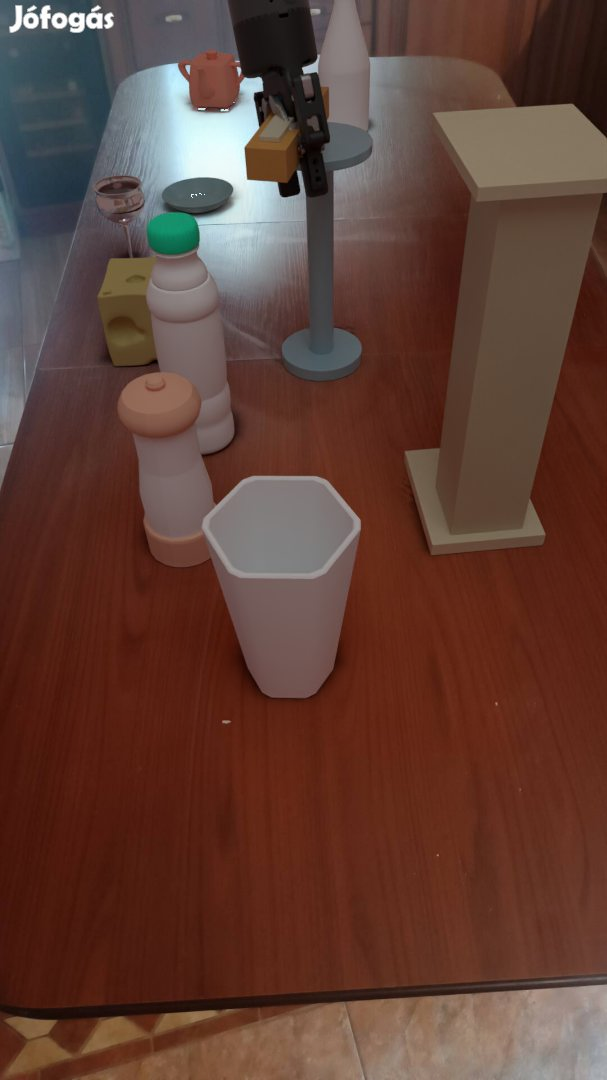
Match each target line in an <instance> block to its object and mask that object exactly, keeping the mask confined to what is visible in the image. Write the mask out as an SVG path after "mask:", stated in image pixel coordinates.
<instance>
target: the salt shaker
mask: <svg viewBox="0 0 607 1080" xmlns="http://www.w3.org/2000/svg"><path fill="white" fill-rule="evenodd" d="M201 403H202V400H201V398H200V395H199V393H198V391H197V389H196V387H195V386H194V385H193V384H192V383H191V382H189V381H188V380H187V379H186V378H185V377H183V376H180V375H178V374H175V373H169V372H160V371H157V372H151V373H146V374H144V375H141V376H138V377H136V378H134V379H133V380H131V381H129V383H127V385H126V386H125V387H124V388H123V390H122V391H121V393H120V395H119V397H118V401H117V409H116V410H117V415H118V419H119V420H120V421H121V423H122V424H123V425H124V427H125V428H126V429H127V430H128V431H129V432H130V433H132V437H133V441H134V446H135V449H136V455H137V460H138V483H139V484H138V485H139V486H138V487H139V488H138V489H139V496H140V500H141V504H142V507H143V511H144V514H143V520H142V523H143V527H144V530H145V535H146V540H147V543H148V548H149V552H150V554H151V555H152V556H153V557H154V559H155V560H156V561H158V562H159V563H161V564H163V565H165V566H168V567H173V568H189V567H194V566H198V565H200V564H203V563H204V562H206V561H208V560H210V559H211V556H210V553H209V550H208V547H207V544H206V541H205V538H204V535H203V532H202V529H201V527H202V522H203V518H204V517H205V516H206V515H207V514H208V513H209V512H210V511H211V510H212V509H214V508H215V507H216V506H217V505H218V504H217V503H216V502H215V501H214V495H213V493H214V492H213V485H212V481H211V478H210V476H209V475H210V474H209V473H208V470H207V467H206V465H205V462H204V459H203V456H202V455H201V453H200V448H199V442H198V436H197V430H196V424H195V421H196V420H197V418H198V416H199V413H200V409H201Z"/></svg>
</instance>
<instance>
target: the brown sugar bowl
mask: <svg viewBox="0 0 607 1080" xmlns="http://www.w3.org/2000/svg"><path fill="white" fill-rule="evenodd" d="M187 66H189V71H188V70H187V68H186V67H187ZM177 68H178V71H179V72H180V74H181V75H182V77H183V78H184V79H185V81H186V82H187V83H188V94H189V99H190V102H191V104H192V106H194V107H197V108H206V107H207V108H219V110H220V109H224V110H225V109H228V108H229V109H230V107H231V105H233V104H232V103H233V102H235V101H237V99H238V97H239V94H240V89H241V84H242V82H243V81H244V80H245V79H246V77H244V76H243V74H242V71H241V70H240V73H239V70H238V68H239V69H241V66H240V61H236V59H235V55H234V54H233V53H228V52H218V51H217V49H208V50H206V51H205V52H201V53H199V54H197V56H194V58H193V59H192V60H190V59H189V60H188V59H182V60H179V62H178V63H177Z"/></svg>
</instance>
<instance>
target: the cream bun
mask: <svg viewBox="0 0 607 1080" xmlns="http://www.w3.org/2000/svg"><path fill="white" fill-rule="evenodd" d="M321 91H322V97H323V102H324V107H325V113H326V118H327V120H328V118H329V87H321ZM288 118H289V120H290V121H287V122H284V121H283V120H282V119H281V117H279V116H278V115H274V114H273V111H272V112H271V114H270V115H269V116H268V117H267V119H266V120H265V121H264V123H263V124H262V125H261V126H260V128H259V127H258V129H257V130H256V132H254V134H253V136H251V138H250V139H249V141H248V142H247V143H246V144H245V146H244V147H243V149H244V159H245V161H244V162H245V171H246V172H245V173H246V180H247V181H258V182H268V183H269V182H271V183H277V182H282V183H288V181H289V179H290V178H291V176H292V175H293V173H294V172H295V170H296V168H297V167H298V165H299V164H300V161H299V158H301V157H303V156H299V154H298V151H297V147H298V136H299V132H300V130H299V129H294V130H289V127H290V123H291V122H294V117H288ZM307 120H308V118H307Z"/></svg>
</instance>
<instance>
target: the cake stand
mask: <svg viewBox="0 0 607 1080" xmlns="http://www.w3.org/2000/svg"><path fill="white" fill-rule="evenodd" d="M327 123H328V129H329V134H330V142H329V143H327V144H325V150H324V151H321V153H322V154H323V160H324V166H325V172H326V177H327V183H328V193H327V194H325V195H321V196H317V197H313V198H309V197H307V196H306V195H305V215H306V216H305V218H306V220H305V221H306V222H305V224H306V225H305V226H306V254H307V255H306V257H307V264H306V265H307V292H308V293H307V299H308V304H307V305H308V327H307V328H304V329H300V330H297V331H296V332H293V333H292V334H290V335H289V336H288V337H286V339H285V340H284V341H283V342H282V345H281V362H282V365H283V367H284V368H285V369H286V371H287V372H289V373H290V374H291V375H293V376H295V377H296V378H300V379H302V380H307V381H312V382H328V381H335V380H339V379H342V378H345V377H347V376H349V375H351V374H352V373H354V372H355V371H357V369H358V368H360V365H361V363H362V357H363V354H362V353H363V345H362V343H361V340H359V338H358V337H356V335H354V334H353V333H352V332H350V331H348V330H345V329H342V328H338V327H335V325H334V324H335V322H334V321H335V318H334V317H335V316H334V315H335V311H334V310H335V308H334V307H335V294H334V293H335V290H334V289H335V287H334V286H335V281H334V279H335V275H334V271H335V270H334V269H335V262H334V261H335V258H334V257H335V256H334V255H335V254H334V253H335V250H334V249H335V246H334V245H335V243H334V242H335V240H334V238H335V233H334V232H335V231H334V230H335V228H334V227H335V223H334V222H335V217H334V215H335V214H334V213H335V209H334V207H335V205H334V204H335V202H334V201H335V199H334V198H335V197H334V196H335V195H334V194H335V192H334V190H335V189H334V188H335V187H334V186H335V185H334V184H335V183H334V182H335V177H334V176H335V173H334V172H336V171H341V170H346V169H349V168H352V167H355V166H358V165H360V164H362V163H364V162H365V161H367V160H368V159H370V157H371V155H372V153H373V147H374V146H373V145H374V140H373V137H372V136H371V134H370V133H369V132H368V131H367V132H366V131H365V130H363V129H361V128H358V127H355V126H352V125H348V124H342V123H334V122H327ZM296 170H297V172H301V166H300V164H299V165H298V167H297V168H296Z"/></svg>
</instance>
